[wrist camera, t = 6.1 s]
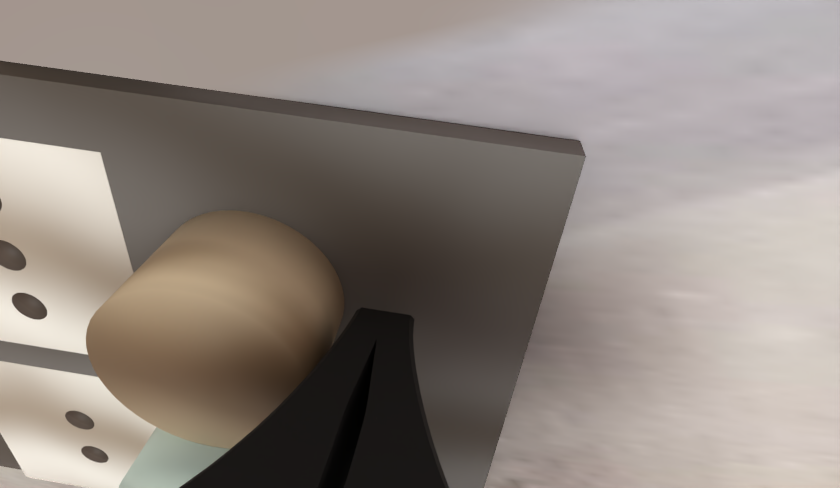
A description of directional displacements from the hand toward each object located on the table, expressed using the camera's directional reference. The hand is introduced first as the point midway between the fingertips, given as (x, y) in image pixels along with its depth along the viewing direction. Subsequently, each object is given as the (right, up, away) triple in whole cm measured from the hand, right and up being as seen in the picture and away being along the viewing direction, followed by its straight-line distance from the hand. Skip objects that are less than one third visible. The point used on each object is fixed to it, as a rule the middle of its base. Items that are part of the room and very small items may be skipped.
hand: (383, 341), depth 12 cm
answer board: (-6, -1, +3) cm, 7 cm away
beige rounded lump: (-3, +1, +1) cm, 4 cm away
